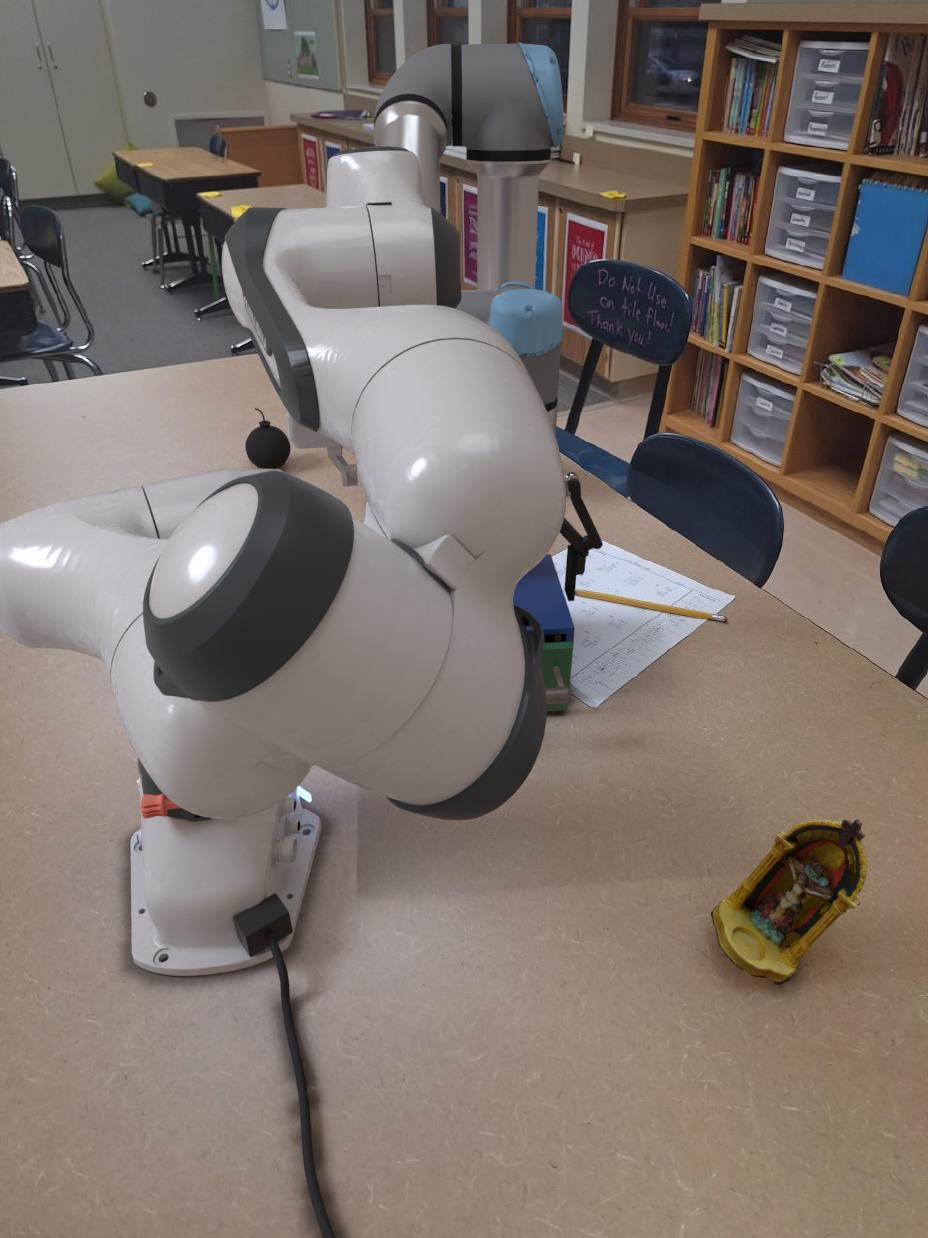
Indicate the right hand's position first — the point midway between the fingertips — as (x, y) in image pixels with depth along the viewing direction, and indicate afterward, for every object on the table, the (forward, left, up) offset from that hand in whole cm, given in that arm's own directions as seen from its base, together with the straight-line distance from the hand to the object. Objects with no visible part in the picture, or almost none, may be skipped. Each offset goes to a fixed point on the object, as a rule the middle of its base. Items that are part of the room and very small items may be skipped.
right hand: (515, 598), depth 108 cm
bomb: (-64, -23, -8) cm, 69 cm away
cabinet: (+3, -1, -8) cm, 9 cm away
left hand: (+6, -16, +21) cm, 27 cm away
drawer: (+9, -2, -7) cm, 11 cm away
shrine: (+48, +6, -8) cm, 49 cm away
